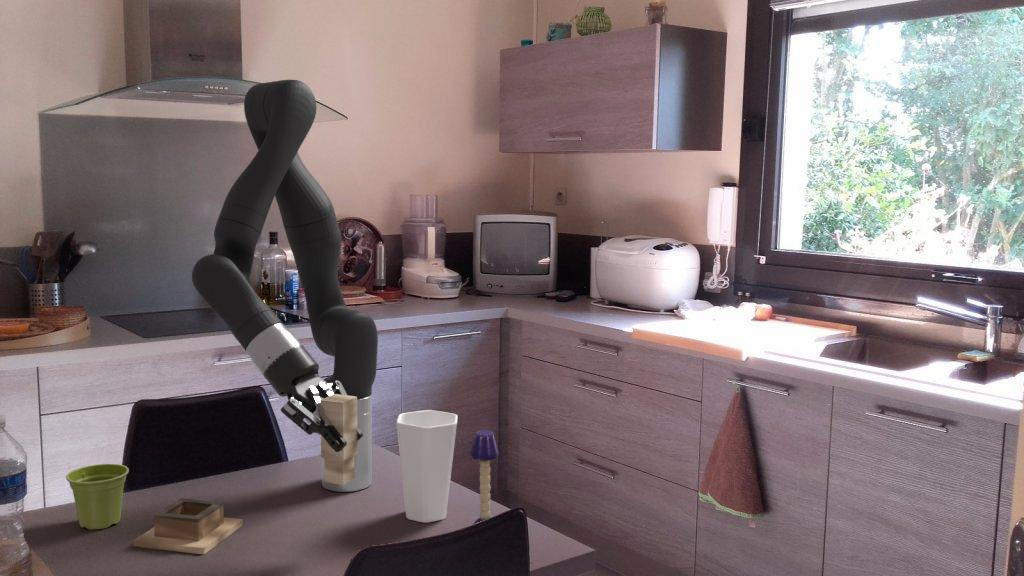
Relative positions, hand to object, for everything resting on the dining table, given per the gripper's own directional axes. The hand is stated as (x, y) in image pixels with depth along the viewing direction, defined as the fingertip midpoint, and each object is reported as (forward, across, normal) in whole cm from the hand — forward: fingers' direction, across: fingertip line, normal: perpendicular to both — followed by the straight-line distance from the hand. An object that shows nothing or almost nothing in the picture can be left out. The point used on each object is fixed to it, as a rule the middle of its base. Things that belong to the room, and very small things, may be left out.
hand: (350, 443), depth 138 cm
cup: (+15, +18, +10) cm, 25 cm away
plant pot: (-19, -8, +43) cm, 47 cm away
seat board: (-7, -6, +31) cm, 32 cm away
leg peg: (+3, 0, +6) cm, 6 cm away
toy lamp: (+23, +16, +2) cm, 28 cm away
